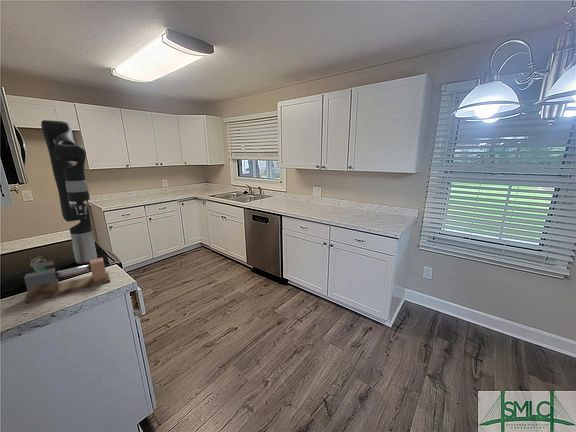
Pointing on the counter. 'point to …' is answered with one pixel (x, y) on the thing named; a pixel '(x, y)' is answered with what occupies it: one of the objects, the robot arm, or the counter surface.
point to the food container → (41, 264)
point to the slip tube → (72, 271)
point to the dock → (61, 288)
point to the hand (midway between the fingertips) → (84, 224)
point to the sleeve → (40, 277)
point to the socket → (98, 269)
